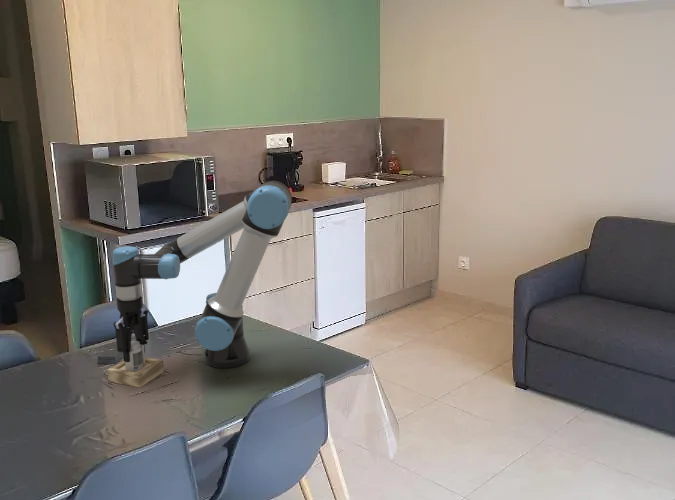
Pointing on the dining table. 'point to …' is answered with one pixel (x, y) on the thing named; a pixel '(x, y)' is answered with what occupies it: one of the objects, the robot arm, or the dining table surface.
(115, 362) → the black tin
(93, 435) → the dining table surface
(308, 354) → the dining table surface
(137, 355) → the pill bottle
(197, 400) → the dining table surface
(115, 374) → the stand
